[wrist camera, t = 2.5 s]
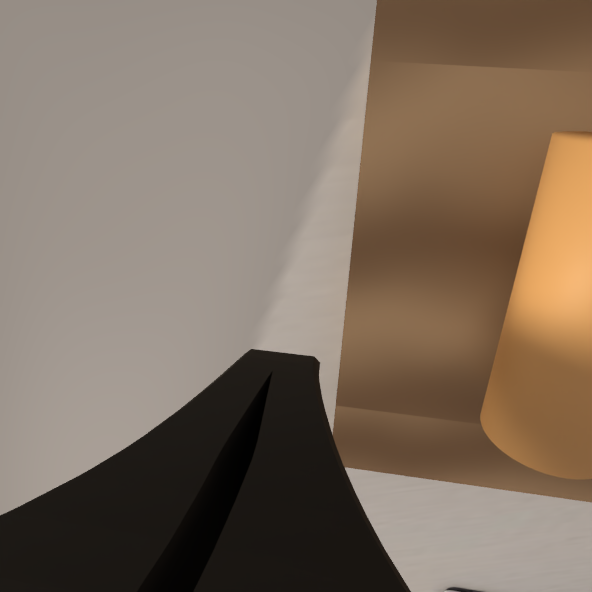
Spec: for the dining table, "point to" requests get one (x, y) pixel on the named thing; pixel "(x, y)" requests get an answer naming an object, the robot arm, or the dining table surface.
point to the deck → (450, 226)
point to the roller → (550, 326)
